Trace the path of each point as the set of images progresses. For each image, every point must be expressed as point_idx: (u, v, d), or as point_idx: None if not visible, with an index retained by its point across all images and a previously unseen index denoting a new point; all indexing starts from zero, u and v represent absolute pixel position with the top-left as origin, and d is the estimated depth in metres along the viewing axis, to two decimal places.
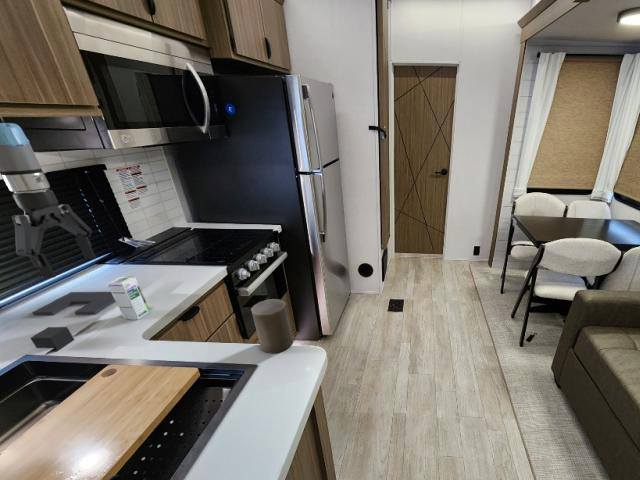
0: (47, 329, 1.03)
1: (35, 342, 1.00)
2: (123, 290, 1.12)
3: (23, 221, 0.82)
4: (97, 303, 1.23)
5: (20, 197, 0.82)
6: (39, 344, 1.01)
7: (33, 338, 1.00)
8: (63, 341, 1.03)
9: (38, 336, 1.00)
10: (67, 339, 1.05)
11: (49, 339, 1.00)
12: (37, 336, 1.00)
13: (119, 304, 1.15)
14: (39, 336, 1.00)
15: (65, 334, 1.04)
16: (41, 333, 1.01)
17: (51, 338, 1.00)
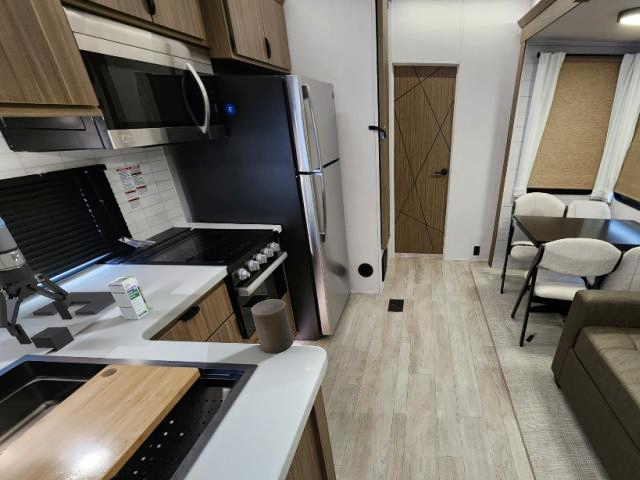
0: (47, 329, 1.03)
1: (35, 342, 1.00)
2: (123, 290, 1.12)
3: (0, 297, 0.89)
4: (97, 303, 1.23)
5: None
6: (39, 344, 1.01)
7: (33, 338, 1.00)
8: (63, 341, 1.03)
9: (38, 336, 1.00)
10: (67, 339, 1.05)
11: (49, 339, 1.00)
12: (37, 336, 1.00)
13: (119, 304, 1.15)
14: (39, 336, 1.00)
15: (65, 334, 1.04)
16: (41, 333, 1.01)
17: (51, 338, 1.00)
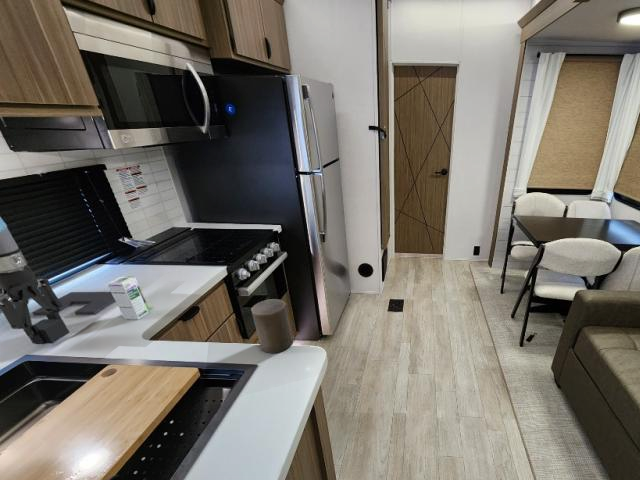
0: (42, 321, 1.02)
1: None
2: (123, 290, 1.12)
3: (5, 303, 0.90)
4: (97, 303, 1.23)
5: None
6: None
7: None
8: (58, 334, 1.02)
9: None
10: (62, 331, 1.03)
11: (43, 331, 0.98)
12: None
13: (119, 304, 1.15)
14: None
15: (60, 326, 1.03)
16: None
17: (46, 330, 0.99)
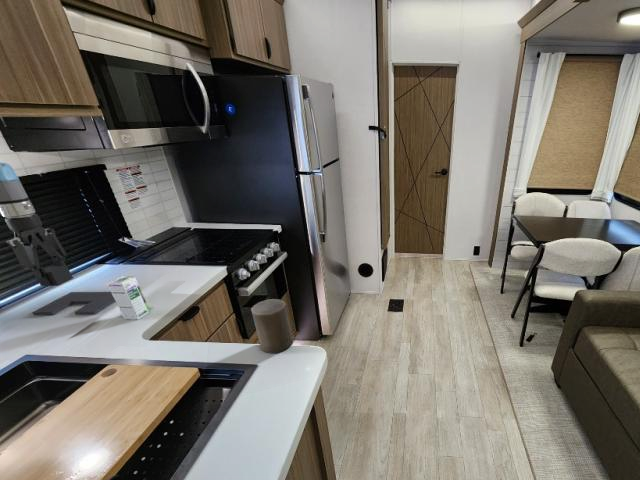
0: (48, 267, 1.15)
1: None
2: (123, 290, 1.12)
3: (17, 244, 1.03)
4: (97, 303, 1.23)
5: (10, 221, 1.02)
6: None
7: None
8: (63, 278, 1.15)
9: None
10: (66, 277, 1.16)
11: (50, 274, 1.11)
12: None
13: (119, 304, 1.15)
14: None
15: (65, 272, 1.16)
16: None
17: (52, 273, 1.11)
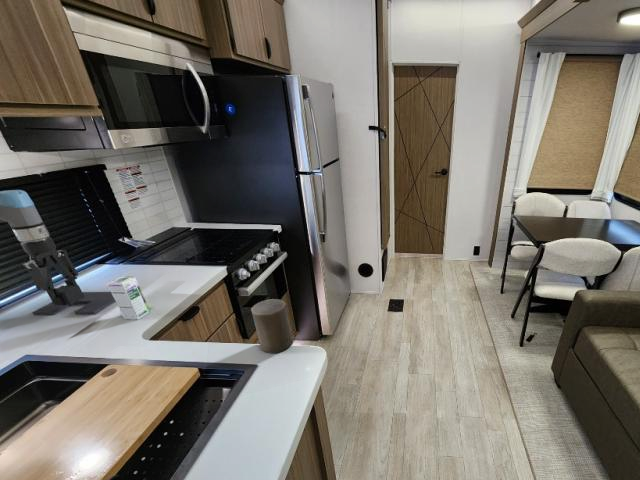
0: (61, 287, 1.20)
1: None
2: (123, 290, 1.12)
3: (32, 267, 1.07)
4: (97, 303, 1.23)
5: (26, 245, 1.07)
6: None
7: None
8: (75, 297, 1.20)
9: None
10: (78, 296, 1.21)
11: (63, 294, 1.16)
12: None
13: (119, 304, 1.15)
14: None
15: (77, 291, 1.20)
16: None
17: (65, 293, 1.16)
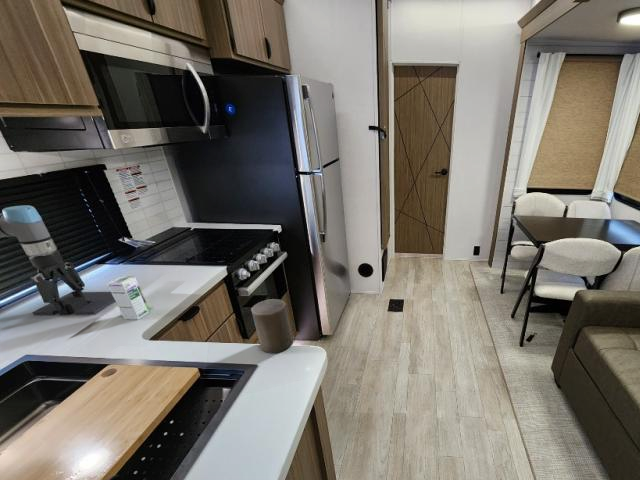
0: (68, 298, 1.22)
1: None
2: (123, 290, 1.12)
3: (40, 280, 1.10)
4: (97, 303, 1.23)
5: (34, 259, 1.09)
6: None
7: None
8: None
9: None
10: None
11: (70, 306, 1.18)
12: None
13: (119, 304, 1.15)
14: None
15: (83, 302, 1.23)
16: None
17: (72, 305, 1.18)
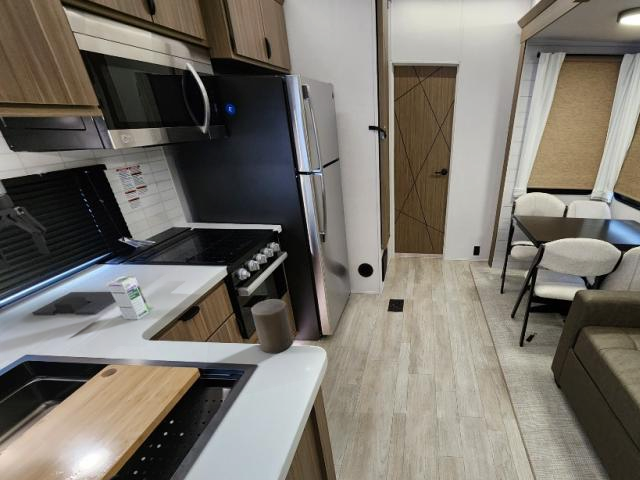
0: (68, 298, 1.22)
1: (58, 308, 1.19)
2: (123, 290, 1.12)
3: None
4: (97, 303, 1.23)
5: None
6: (61, 310, 1.19)
7: (56, 305, 1.18)
8: None
9: (60, 303, 1.19)
10: None
11: (70, 306, 1.18)
12: (60, 303, 1.18)
13: (119, 304, 1.15)
14: (61, 303, 1.18)
15: (83, 302, 1.23)
16: (63, 301, 1.20)
17: (72, 305, 1.18)
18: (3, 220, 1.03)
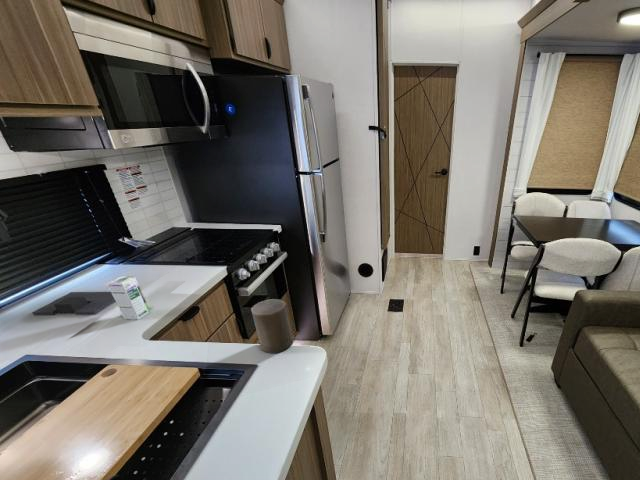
0: (68, 298, 1.22)
1: (58, 308, 1.19)
2: (123, 290, 1.12)
3: None
4: (97, 303, 1.23)
5: None
6: (61, 310, 1.19)
7: (56, 305, 1.18)
8: None
9: (60, 303, 1.19)
10: None
11: (70, 306, 1.18)
12: (60, 303, 1.18)
13: (119, 304, 1.15)
14: (61, 303, 1.18)
15: (83, 302, 1.23)
16: (63, 301, 1.20)
17: (72, 305, 1.18)
18: None
